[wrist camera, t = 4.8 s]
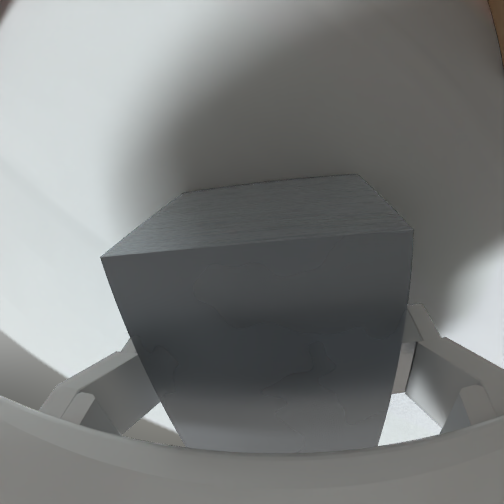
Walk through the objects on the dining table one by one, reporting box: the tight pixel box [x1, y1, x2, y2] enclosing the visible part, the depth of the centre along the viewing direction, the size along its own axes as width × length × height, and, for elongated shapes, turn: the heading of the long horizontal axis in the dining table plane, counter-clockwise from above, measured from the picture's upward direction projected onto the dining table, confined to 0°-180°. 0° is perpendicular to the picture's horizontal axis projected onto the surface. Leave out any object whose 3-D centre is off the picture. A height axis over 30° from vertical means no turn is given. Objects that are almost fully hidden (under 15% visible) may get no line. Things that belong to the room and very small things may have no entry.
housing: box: [100, 174, 414, 453], centre depth 8 cm, size 10×5×4 cm, turn 8°
